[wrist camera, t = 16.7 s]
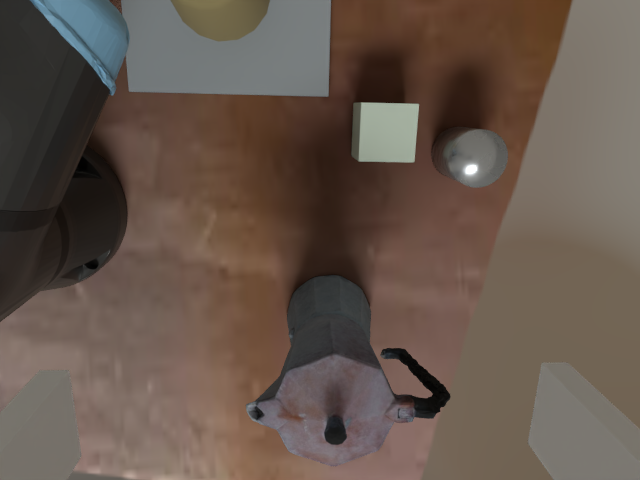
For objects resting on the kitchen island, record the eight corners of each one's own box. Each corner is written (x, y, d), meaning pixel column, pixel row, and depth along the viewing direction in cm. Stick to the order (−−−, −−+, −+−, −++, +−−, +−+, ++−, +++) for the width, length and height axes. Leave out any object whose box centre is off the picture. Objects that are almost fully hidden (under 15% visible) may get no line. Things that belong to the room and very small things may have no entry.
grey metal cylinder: (429, 177, 47) (449, 187, 41) (433, 126, 46) (454, 129, 40) (477, 177, 47) (503, 187, 41) (483, 126, 46) (511, 130, 40)
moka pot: (254, 276, 49) (232, 387, 29) (400, 261, 49) (471, 360, 30) (265, 357, 51) (251, 507, 32) (403, 341, 52) (470, 480, 33)
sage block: (351, 155, 46) (358, 161, 41) (353, 102, 44) (361, 102, 40) (401, 156, 46) (414, 162, 41) (404, 104, 45) (418, 103, 40)
